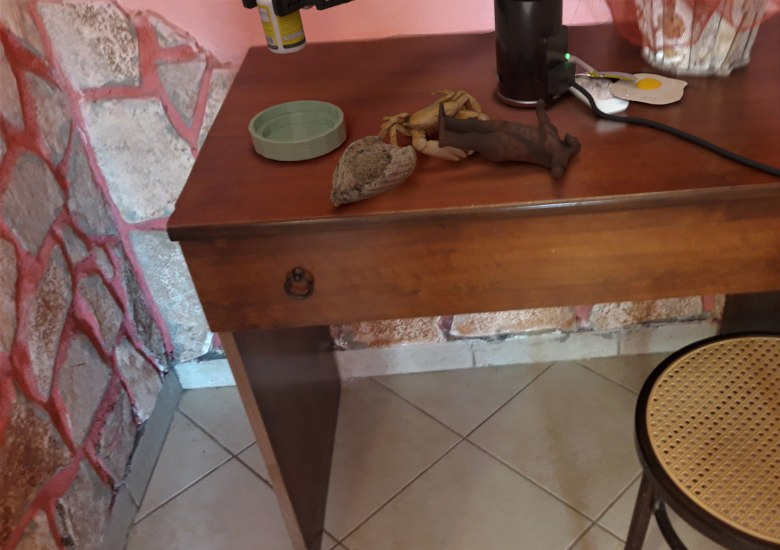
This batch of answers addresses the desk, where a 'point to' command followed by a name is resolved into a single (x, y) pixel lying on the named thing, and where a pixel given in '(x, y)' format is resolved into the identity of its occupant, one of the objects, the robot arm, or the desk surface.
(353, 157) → the seashell
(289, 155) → the dish
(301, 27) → the supplement bottle
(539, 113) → the figurine
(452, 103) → the crab model
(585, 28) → the desk surface
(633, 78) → the decorative knife
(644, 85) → the cracked egg
